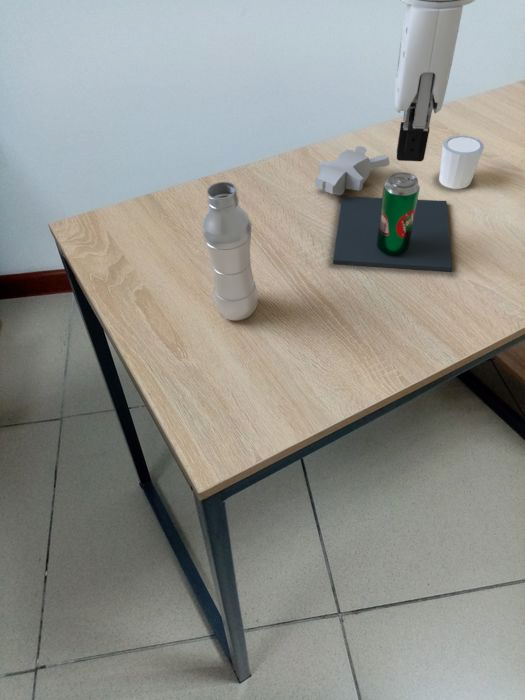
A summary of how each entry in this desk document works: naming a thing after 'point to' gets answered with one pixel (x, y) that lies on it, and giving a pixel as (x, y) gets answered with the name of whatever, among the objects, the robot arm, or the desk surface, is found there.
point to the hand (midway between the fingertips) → (409, 157)
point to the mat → (362, 231)
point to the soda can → (397, 213)
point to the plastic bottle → (229, 252)
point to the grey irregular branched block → (348, 171)
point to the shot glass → (459, 161)
